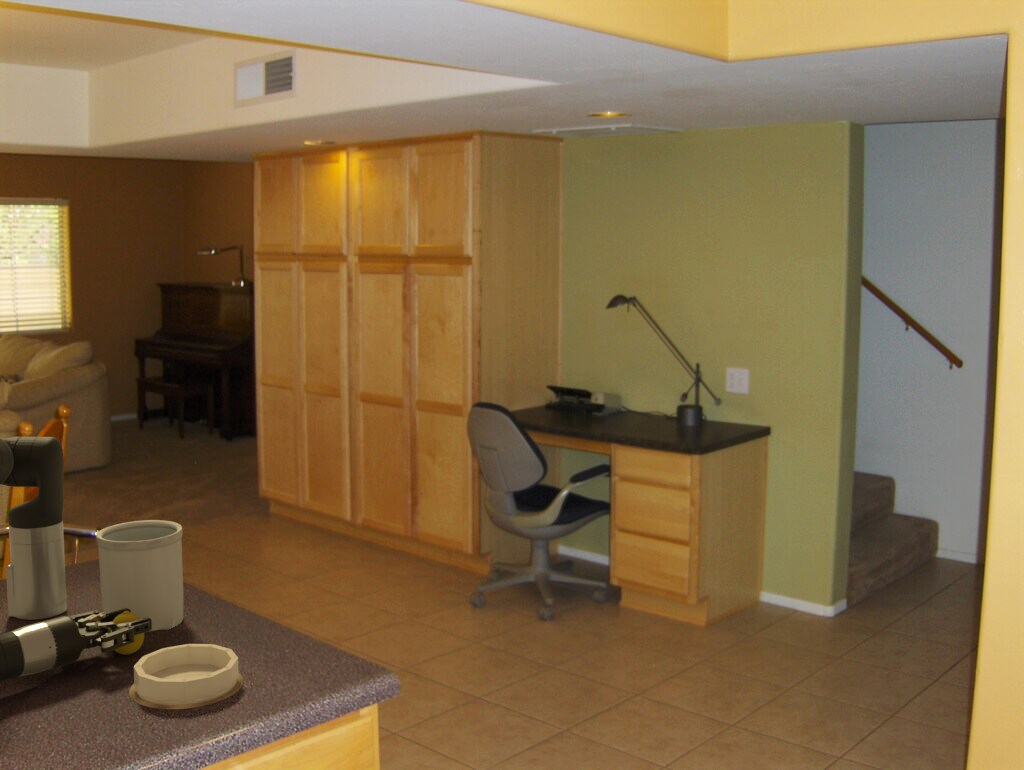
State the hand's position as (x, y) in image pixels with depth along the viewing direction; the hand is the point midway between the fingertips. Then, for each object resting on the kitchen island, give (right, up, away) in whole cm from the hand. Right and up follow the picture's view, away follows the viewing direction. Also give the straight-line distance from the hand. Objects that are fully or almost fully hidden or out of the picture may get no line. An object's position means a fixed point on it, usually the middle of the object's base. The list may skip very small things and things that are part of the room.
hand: (139, 618), depth 181 cm
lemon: (-2, -6, -1) cm, 7 cm away
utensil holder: (-5, -4, +15) cm, 16 cm away
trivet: (+12, -8, -14) cm, 20 cm away
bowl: (+12, -7, -14) cm, 20 cm away
